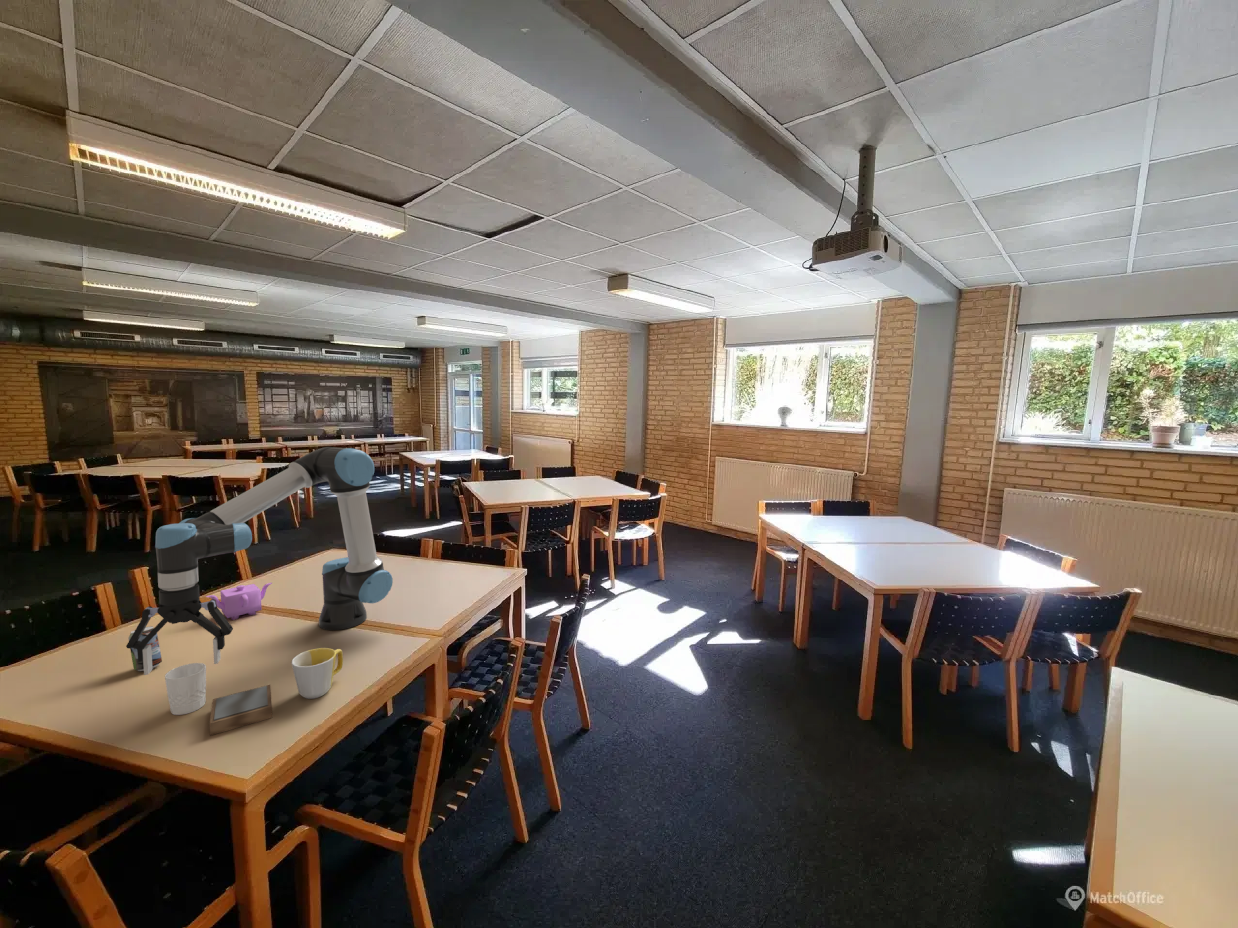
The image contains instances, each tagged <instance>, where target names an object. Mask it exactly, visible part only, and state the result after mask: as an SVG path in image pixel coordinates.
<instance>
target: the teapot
mask: <svg viewBox="0 0 1238 928" xmlns="http://www.w3.org/2000/svg"><path fill="white" fill-rule="evenodd" d="M272 584H273V582H268V583H266V584H264V585H263V586H262V588H261V589H260V588H259V586H257V585H256V584H254V583H252V584H247V585H243V584H241V585H236V586H235V587H231V588H227V589H222V590H220V591H219V592H220V593H219V594H220V600H219V598H218V596H216V595H215V594H212V595H211V594H210V595H205V597H206V598H210V599H211V600H212V599H215V600H216V604H217V608H218V609H219V610H221V613H222V614H223V615H224V617H225V618H226V619H230V618H231V620H233V621H234V620H237V619H239V617H240V616H241V615H245V614H248V616H255V615H257V613H256V612H258V611H263V609H262V600H263V599H264V598H265V595H266V592H267V589H268V587H269V586H271V585H272Z"/></svg>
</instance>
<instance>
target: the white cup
mask: <svg viewBox="0 0 1238 928" xmlns="http://www.w3.org/2000/svg"><path fill="white" fill-rule="evenodd" d="M164 680H165V685H166V686H165V687H166V694H167V698H168V704H169V710H170V713H171V714H172V715H175V716H182V715H187V714H190V713H193V712H196V711H197V710H200V709H201V708H202V707H203V706H205V704H206V702H207V701H206V692H207V665H206V664H205V663H204V662H193V663H187V664H183V665H179V666H177V667H175V668H172V669H170V670H169V671H168V672H166V673H165V674H164Z"/></svg>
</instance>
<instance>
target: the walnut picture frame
mask: <svg viewBox="0 0 1238 928" xmlns="http://www.w3.org/2000/svg"><path fill="white" fill-rule="evenodd" d="M210 709H211V711H210V716H209V718H210V719H209V732H210V733H209V734H210V736H213V735H217V734H220V733H223V732H228V731H231V730H234V729H238V728H241V727H244V726H245V727H246V726H248V725H251V724H255V723H258V722H262V721H265V720H269V719H272V718H273V703H272V687H271V684H267V685H266V684H265V685H263V686H259V687H255V688H254V687H253V688H250V689H247V690H243V691H239V692H236V693H230V694H228V695H224V696H220V697H216V698H213V699H212V703H211V708H210Z"/></svg>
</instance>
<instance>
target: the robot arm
mask: <svg viewBox="0 0 1238 928" xmlns="http://www.w3.org/2000/svg"><path fill="white" fill-rule="evenodd" d="M374 473H375V463H374V460H373V459H372V458H371V456H370V455H369V454H368V453H366V452H365V451H364V450H360V449H356V448H353V447H351V448H350V447H334V446H325V447H322V448H321V447H320V448H318V449H315V450H312V452H308V453H307V454H305V455H303V456H300V457H299V458H297V459H296V460H294V461H292V462H290V463H289V465H288V467H287V468H286V469H284V470H282V471H281V472H279V473H277V474H275V475H273V476H272V477H269V478H268V479H266V480H264V481H262V482H260V483H259V484H257V485H255V486H254V487H252V488H250V489H248V490H247V491H244V492H242V493H241V494H239V495H237V496H235V497H233V498H232V499H230V500H227V501H226V502H225V503H222V504H220V505H219V506H217V507H216V508H213V509H212V510H209V511H207V512H206V513H204V514H202V515H200V516H199V517H191V518H185V519H183V520H181V521H180V522H179V523H170V524H166V525H162V526H159V528H156V529H157V530H156V532H155V545H154V548H155V553H156V561H157V562H156V564H157V565H156V566H157V583H158V585H157V586H158V588H159V590H158V599H159V601H158V603H159V606H158V607H152V606H151V605H150V606H147V607H145V609H143V610H142V612H141V613H142V614H141V619H140V621H139V623H138V624H137V627H136V628H135V629H134V630H135V632H134V633H133V635H132V637H131V638H130V640H129V639H128V642H127V643H126V646H125V647H126V648H127V649H130V648H135V649H137V652H138V661H139V662H140V661H143V665H144V671H143V676H146V675H147V676H148V675H150V673H151V672H152V671H153V669H154V668H152V652H151V645H147V646H146V644H147V643H148V642H149V641H150V640H151V639H152V638H153V637H154V636H155V635H156V633H157V634H158V633H159V632H160V631H161V630H162V628H163V627H165V625H166V624H167V623H169V624H171V625H173V624H174V625H175V624H179V623H189V622H191V621H192V622H193V623H195V624H197V625H199V626H200V627H201V628H203V629H204V630H206V631H207V632H208V633H210V634H211V635H213V639H212V646H213V647H212V649H213V650H212V651H213V664H214V665H216V664H219V663H220V660H221V659H222V658H221V650H224V648H225V646H226V645H225V644H226V643H225V641H226V640H225V636H228V635H230V634H232V632H233V631H234V630H233V629H234V628H233V626H232V625H231V623H230V622H229V621H228V618H227V617H226V616H225V615H224V613H223V612H222V611H221V609H219V608H218V607H217V604H216V600H215V599H212V598H211V599H210V600H209V601H205V602H202V601H201V600H200V584H198V582H199V562H198V561H199V559H204V558H209V557H213V556H214V557H215V556H218V555H220V556H221V555H225V554H230V553H237V552H239V551H243V550H247V549H248V548H249V547H250V546H251V544H252V542H253V536H252V535H253V533H252V530H251V528H250V526H249V525H248V524H246V522H247V521H249V520H251V519H252V518H254V517H256V516H257V515H260V514H261V513H262V512H264V511H266V510H267V509H269V508H272V507H273V506H275V505H276V504H278V503H279V502H281V501H283V500H285V499H286V498H288V497H289V496H291V495H293V494H295V493H296V492H298V491H300V490H301V489H303V488H307V489H309V488H311V487H312V486H314V485H317V484H319V483H324V482H327V483H328V485H329V491H330V493H332V494H333V495H335V496H336V498H337V503H338V510H339V513H340V514H339V515H340V521H341V525H342V526H341V527H342V532H343V537H344V542H345V547H346V553H347V557H342V558H341V557H340V558H335V559H332V560H330V561H327V562H325V563H324V564H323V565H322V570H321V571H322V572H321V575H322V590H323V591H322V592H323V606H322V609H321V612H320V615H319V618H318V626H319V628H320V629H321V630H326V631H341V630H346V629H351V628H354V627H355V626H356V627H357V626H359V625H361V624H362V623H364V622H365V621H366V620H367V618H368V617H367V615H368V614H367V610H366V607H365V606H364V604H376V603H379V602H380V601H382V600H384V599H385V598H386V597H387V595H389V592H390V591H391V589H392V587H393V583H394V582H393V580H394V579H393V575H392V573H390V572H389V571H388V570H387V569H384V563H383V559H382V558H381V557H379V556H377V550H376V544H375V537H374V533H373V525H372V520H371V515H370V508H369V504H368V497H367V490H368V489H369V488H370V486H371V483H370V481H372V479H373V476H374V475H375V474H374ZM201 609H204V610H206V611H208V612H209V615H210V616H211V617H212V619H213V620H214V622H216V623H214V622H213V621H212V620H210V619H209V618H207V617H206V616H205V615H204V614H203V613H202V612H201V611H200V610H201ZM156 614H158V615H159V616H160V617H161V618H162V619H161V620H160V621H159V623H157V625H156V626H155V627H153V628H154V629H153V630H152V631H151V632H150V633H149V634H148V635H147V636H146V637H145V638H144V639H143V640H142V641H138V640H139V638H140V636H141V634H142V633H143V631H144V629H145V627H148V626H147V625H148V624H149V622H150V620H151V619H152V618H153V617H154V616H155V615H156ZM363 621H364V622H363Z"/></svg>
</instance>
